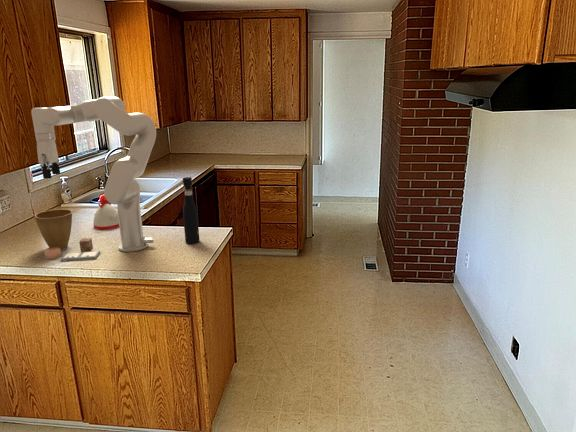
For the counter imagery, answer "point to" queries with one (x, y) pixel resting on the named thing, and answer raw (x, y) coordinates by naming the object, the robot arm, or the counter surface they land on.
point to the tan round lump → (52, 253)
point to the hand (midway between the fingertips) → (52, 176)
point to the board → (80, 256)
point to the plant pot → (55, 227)
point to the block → (86, 245)
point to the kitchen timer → (106, 216)
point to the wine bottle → (190, 214)
